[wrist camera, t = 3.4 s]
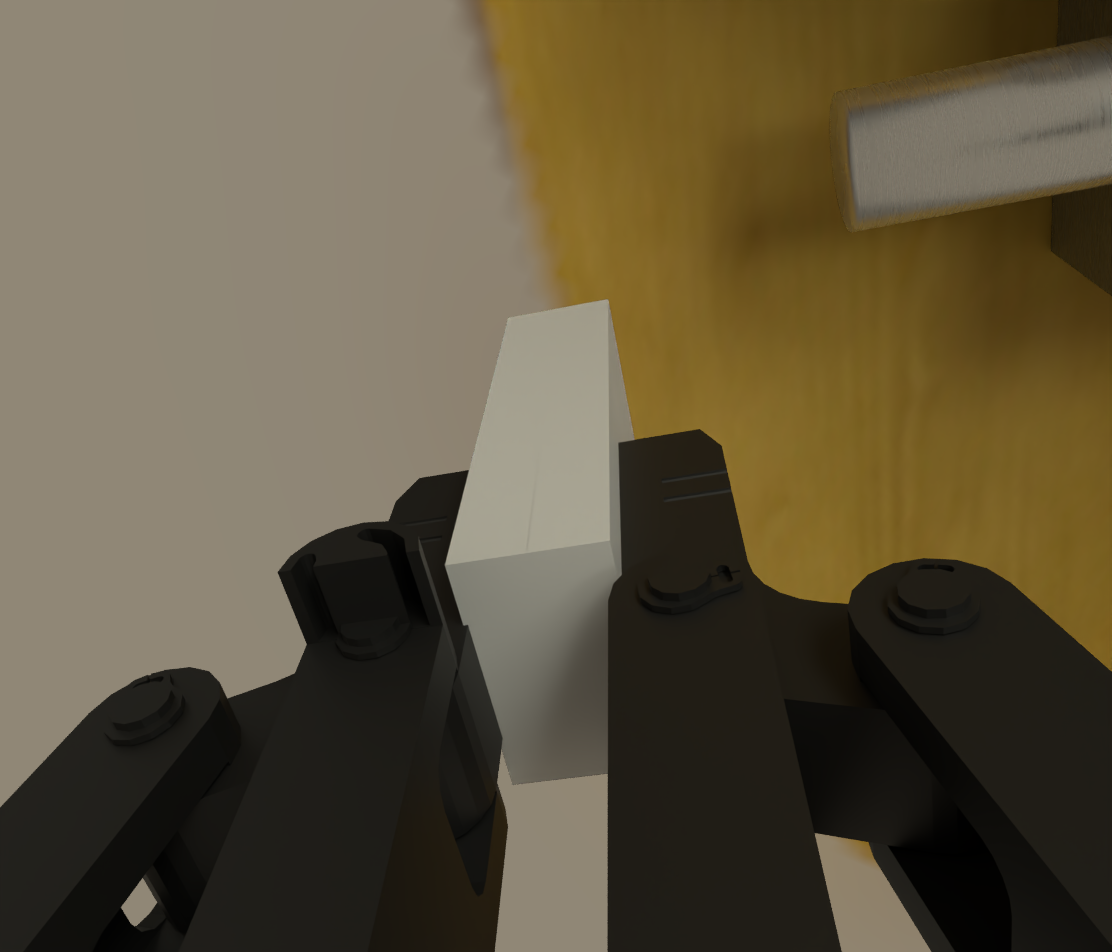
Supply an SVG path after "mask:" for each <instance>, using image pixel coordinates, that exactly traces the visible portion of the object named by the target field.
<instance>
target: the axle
mask: <svg viewBox="0 0 1112 952" xmlns="http://www.w3.org/2000/svg"><path fill="white" fill-rule="evenodd" d="M830 148H831V160H832V169H833V177H834V183H835V189H836V194H837V199H838V204H839V208H840V212H841V215H842V218H843V221H844V223H845V226H846V227H847V229H848V230H849V231H850V232H856V231H861V230H867V229H872V228H878V227H883V226H888V225H894V224H899V223H905V222H910V221H916V220H921V219H926V218H932V217H937V216H943V215H948V214H953V213H959V212H964V211H970V210H975V209H981V208H986V207H991V206H997V205H1002V204H1008V203H1013V202H1019V201H1024V200H1029V199H1035V198H1040V197H1046V196H1051V195H1057V194H1062V193H1067V192H1073V191H1078V190H1084V189H1089V188H1095V187H1100V186H1105V185H1111V184H1112V35H1111V36H1106V37H1101V38H1097V39H1092V40H1087V41H1082V42H1077V43H1072V44H1067V45H1062V46H1057V47H1053V48H1048V49H1043V50H1038V51H1033V52H1028V53H1023V54H1018V55H1013V56H1009V57H1004V58H999V59H994V60H989V61H984V62H979V63H974V64H970V65H965V66H960V67H955V68H950V69H945V70H940V71H935V72H930V73H926V74H921V75H916V76H911V77H906V78H901V79H896V80H891V81H886V82H882V83H877V84H872V85H867V86H862V87H857V88H852V89H847V90H842V91H838V92H835V93H834V95H833V98H832V102H831V109H830Z"/></svg>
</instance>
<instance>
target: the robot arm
mask: <svg viewBox="0 0 1112 952" xmlns="http://www.w3.org/2000/svg"><path fill="white" fill-rule="evenodd" d="M278 574H279V577H280V579H281V582H282V584H283V587H284V589H285V591H286V594H287V596H288V599H289V601H290V604H291V606H292V609H293V611H294V613H295V616H296V618H297V621H298V624H299V626H300V629H301V631H302V633H303V636H304V638H305V641H306V643H307V646H306V648H305V651H304V653H303V655H302V658H301V660H300V663H299V665H298V667H297V670H296V672H295V674H293V675H290V676H288V677H286V678H283V679H281V680H279V681H276V682H273V683H270V684H268V685H265V686H262V687H259V688H256V689H253V690H251V691H248V692H245V693H242V694H239V695H236V696H234V697H231V698H228V699H227V697H226V695H225V693H224V691H223V689H222V687H221V684H220V682H219V681H218V680H217V679H216V678H215V677H214V676H213V675H212V674H211V673H210V672H209V671H205V670H200V669H196V668H191V667H188V668H179V669H170V670H164V671H160V672H157V673H153V674H151V675H149V676H148V675H146V676H144V677H142V678H139V679H137V680H134V681H133V682H131V683H130V684H129V685H128V686H126V687H124V688H122V689H120V690H118V691H117V692H115V693H113V694H111V695H110V696H109V697H108V698H107V699H106V700H104V701H103V702H102V703H101V704H100V705H98V706H97V707H96V708H95V709H94V710H93V711H91V712H90V713H89V714H88V715H87V716H86V717H85V718H84V719H83V720H82V721H81V723H80V724H79V725H78V726H77V727H76V728H75V729H74V730H73V731H72V732H71V733H70V734H69V735H68V736H67V737H66V738H65V739H64V741H63V742H62V743H61V744H60V745H59V746H58V747H57V748H56V749H55V750H54V751H53V752H52V753H51V754H50V755H49V757H47V759H46V760H45V761H44V762H43V763H42V764H41V765H40V766H39V767H38V768H37V769H36V770H35V771H34V772H33V774H31V776H30V777H29V778H28V779H27V780H26V781H25V782H24V783H23V784H22V785H21V786H20V787H19V788H18V789H17V791H16V792H14V794H13V795H12V796H11V797H10V798H9V799H8V800H7V801H6V802H5V803H4V804H3V805H2V806H1V807H0V952H495V942H496V933H497V924H498V915H499V905H500V896H501V887H502V877H503V868H504V858H505V849H506V840H507V829H508V824H507V817H506V811H505V806H504V803H503V800H502V797H501V794H500V790H499V787H498V784H497V778H498V771H499V763H500V755H501V749H502V752H503V755H504V758H505V761H506V765H507V768H508V771H509V774H510V777H511V781H512V784H513V785H516V784H523V783H532V782H541V781H549V780H558V779H566V778H575V777H582V776H592V775H600V774H608V952H842V951H841V947H840V943H839V939H838V934H837V929H836V925H835V921H834V917H833V912H832V908H831V903H830V899H829V894H828V890H827V886H826V881H825V877H824V873H823V868H822V864H821V860H820V855H819V851H818V847H817V842H816V838H815V833H818V834H824V835H830V836H836V837H842V838H848V839H854V840H860V841H866V842H869V845H870V848H871V851H872V853H873V856H874V859H875V860H876V862H877V864H878V865H879V867H880V868H881V870H882V872H883V873H884V875H885V877H886V878H887V880H888V881H889V883H890V885H891V886H892V888H893V890H894V891H895V893H896V894H897V896H898V898H899V899H900V901H901V903H902V904H903V906H904V908H905V909H906V911H907V912H908V914H909V916H910V917H911V919H912V921H913V922H914V924H915V926H916V927H917V928H918V930H919V932H920V934H921V935H922V937H923V939H924V940H925V942H926V943H927V945H928V947H929V948H930V950H931V952H1112V672H1111V671H1110V670H1109V669H1108V668H1107V667H1106V666H1104V665H1103V664H1102V663H1101V662H1100V661H1099V660H1098V659H1097V658H1095V657H1094V656H1093V655H1092V654H1091V653H1090V652H1089V651H1087V650H1086V649H1085V648H1084V647H1083V646H1082V645H1081V644H1080V643H1078V642H1077V641H1076V640H1075V639H1074V638H1073V637H1072V636H1070V635H1069V634H1068V633H1067V632H1066V631H1065V630H1064V629H1063V628H1061V627H1060V626H1059V625H1058V624H1057V623H1056V622H1055V621H1053V620H1052V619H1051V618H1050V617H1049V616H1048V615H1047V614H1046V613H1044V612H1043V611H1042V610H1041V609H1040V608H1039V607H1038V606H1036V605H1035V604H1034V603H1033V602H1032V601H1031V600H1030V599H1028V598H1027V597H1026V596H1025V595H1024V594H1023V593H1022V592H1021V591H1019V590H1018V589H1017V588H1016V587H1015V586H1014V585H1013V584H1011V583H1010V582H1009V581H1007V580H1005V579H1004V578H1002V577H1000V576H999V575H997V574H995V573H994V572H992V571H990V570H989V569H987V568H984V567H980V566H976V565H973V564H969V563H965V562H962V561H958V560H946V559H926V558H923V559H917V560H911V561H905V562H899V563H893V564H891V565H889V566H886V567H884V568H882V569H880V570H877V571H875V572H873V573H871V574H868V575H867V576H866V577H865V578H864V579H863V580H862V581H861V582H860V583H859V584H858V585H857V586H856V587H855V588H854V589H853V590H852V593H851V597H850V601H849V604H841V603H827V602H818V601H811V600H804V599H798V598H795V597H792V596H789V595H786V594H783V593H780V592H778V591H776V590H774V589H772V588H771V587H769V586H767V585H765V584H764V583H763V582H762V581H761V580H760V579H759V578H758V577H757V576H756V575H755V574H754V573H753V572H752V570H751V567H750V565H749V563H748V560H747V556H746V552H745V547H744V543H743V538H742V534H741V530H740V525H739V521H738V516H737V512H736V508H735V503H734V499H733V494H732V491H731V486H730V481H729V477H728V473H727V468H726V464H725V459H724V455H723V450H722V446H721V445H720V444H718V443H717V442H716V441H714V440H713V439H712V438H711V437H709V436H708V435H707V434H705V433H704V432H703V431H701V430H700V429H698V430H692V431H686V432H680V433H674V434H668V435H661V436H655V437H649V438H643V439H637V440H635V439H634V434H633V429H632V423H631V418H630V413H629V407H628V402H627V397H626V391H625V386H624V381H623V376H622V370H621V365H620V360H619V354H618V349H617V344H616V338H615V333H614V328H613V322H612V317H611V312H610V307H609V301H608V299H606V300H601V301H595V302H590V303H584V304H579V305H574V306H568V307H563V308H557V309H552V310H546V311H542V312H536V313H530V314H525V315H519V316H514V317H508V320H507V324H506V328H505V332H504V336H503V340H502V344H501V348H500V352H499V356H498V359H497V363H496V367H495V371H494V375H493V379H492V383H491V387H490V391H489V395H488V399H487V402H486V406H485V410H484V414H483V418H482V422H481V426H480V430H479V434H478V438H477V442H476V446H475V450H474V453H473V458H472V461H471V465H470V469H469V470H467V471H461V472H455V473H448V474H442V475H437V476H430V477H424V478H419V479H418V480H417V481H416V482H415V483H414V484H413V485H412V486H411V487H410V488H409V489H408V490H407V491H406V492H405V493H404V494H403V495H402V496H401V497H400V498H399V499H398V500H397V501H396V503H395V505H394V508H393V511H392V514H391V516H390V519H389V521H386V522H368V523H360V524H357V525H353V526H349V527H345V528H341V529H337V530H335V531H333V532H331V533H328V534H326V535H324V536H321V537H319V538H317V539H315V540H313V541H311V542H309V543H308V544H307V545H305V546H304V547H302V548H301V549H300V550H298V551H297V552H295V553H294V554H293V555H291V556H290V557H289V559H288V560H287V561H286V562H285V564H284V565H283V566H282V567H281V569H280V570H279V571H278ZM142 878H143V879H144V880H145V882H146V884H147V886H148V887H149V889H150V891H151V892H152V894H153V896H154V898H155V899H156V901H157V904H156V905H155V907H154V908H153V910H152V911H151V912H150V914H149V915H148V916H147V917H146V918H144V920H142V921H141V922H140V923H139V924H138V925H137V926H135V927H134V926H133V925H132V924H131V923H130V922H129V920H128V919H127V917H126V915H125V914H124V912H123V910H122V909H121V906H122V905H123V904H124V902H125V901H126V900H127V898H128V897H129V896H130V894H131V893H132V891H133V890H134V889H135V887H136V886H137V885H138V883H139V882H140V881H141V879H142Z"/></svg>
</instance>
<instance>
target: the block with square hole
mask: <svg viewBox="0 0 1112 952" xmlns="http://www.w3.org/2000/svg"><path fill="white" fill-rule="evenodd" d="M1111 35H1112V0H1059V8H1058V41H1057V46H1062V45H1067V44H1072V43H1077V42H1082V41H1087V40H1092V39H1097V38H1101V37H1106V36H1111ZM1051 251H1052V252H1053V253H1054V254H1056V255H1057V256H1058V257H1060V258H1061V259H1062V260H1064V261H1065V262H1067V263H1068V264H1069V265H1071V266H1072V267H1073V268H1075V269H1076V270H1077V271H1079V272H1080V273H1081V274H1083V275H1084V276H1085V277H1087V278H1088V279H1090V280H1091V281H1092V282H1094V283H1095V284H1096V285H1098V286H1099V287H1100V288H1102V289H1103V290H1104V291H1106V292H1107V293H1109V294H1110V295H1111V296H1112V184H1111V185H1105V186H1100V187H1095V188H1089V189H1084V190H1078V191H1073V192H1067V193H1062V194H1057V195H1053V205H1052V238H1051Z"/></svg>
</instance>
